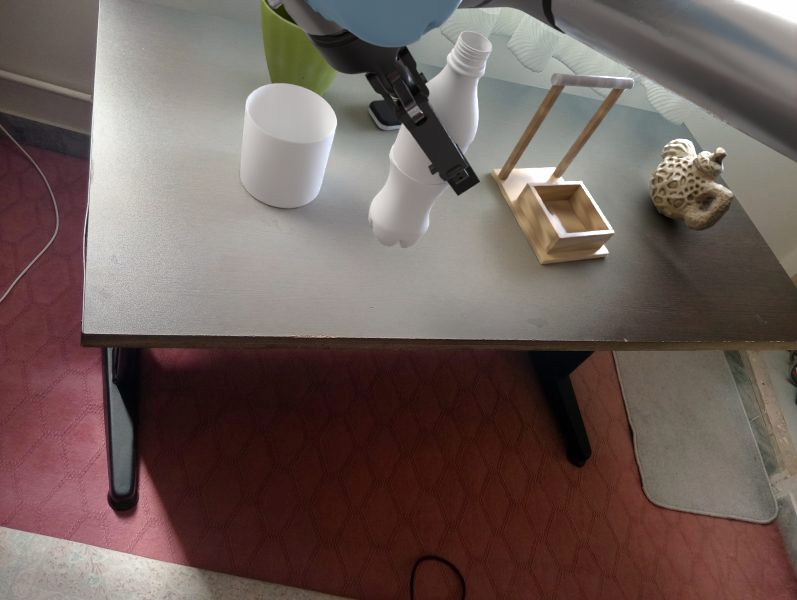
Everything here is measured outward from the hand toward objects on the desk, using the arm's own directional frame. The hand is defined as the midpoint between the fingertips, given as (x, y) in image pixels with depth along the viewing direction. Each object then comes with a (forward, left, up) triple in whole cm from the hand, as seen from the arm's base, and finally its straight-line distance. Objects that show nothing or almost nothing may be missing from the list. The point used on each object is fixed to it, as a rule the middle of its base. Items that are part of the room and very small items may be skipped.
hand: (452, 159), depth 58 cm
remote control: (+33, -14, -22) cm, 42 cm away
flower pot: (+38, +4, -22) cm, 45 cm away
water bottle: (0, +3, -12) cm, 12 cm away
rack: (+9, -33, -22) cm, 41 cm away
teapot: (+8, -61, -22) cm, 65 cm away
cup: (+19, +11, -22) cm, 32 cm away
